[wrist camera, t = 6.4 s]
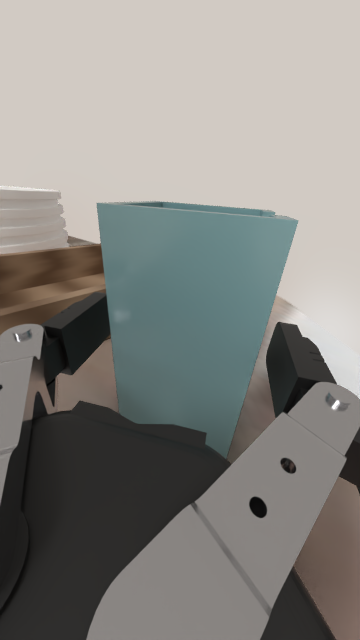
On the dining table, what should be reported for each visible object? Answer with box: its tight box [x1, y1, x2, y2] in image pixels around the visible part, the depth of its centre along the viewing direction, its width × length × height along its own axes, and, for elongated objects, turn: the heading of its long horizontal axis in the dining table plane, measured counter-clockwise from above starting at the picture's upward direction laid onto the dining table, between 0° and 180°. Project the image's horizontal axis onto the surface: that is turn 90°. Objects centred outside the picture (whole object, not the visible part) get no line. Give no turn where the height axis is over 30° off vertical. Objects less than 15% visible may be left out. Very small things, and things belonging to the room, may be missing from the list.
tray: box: [0, 244, 111, 340], centre depth 25 cm, size 24×16×5 cm, turn 137°
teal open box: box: [97, 201, 298, 459], centre depth 12 cm, size 6×6×12 cm
